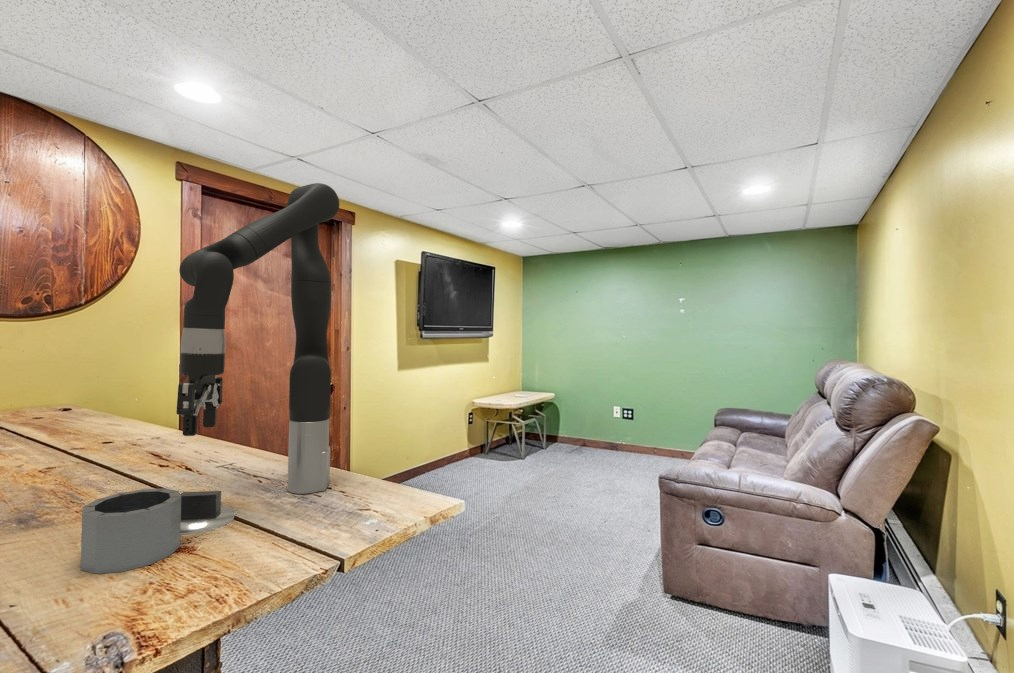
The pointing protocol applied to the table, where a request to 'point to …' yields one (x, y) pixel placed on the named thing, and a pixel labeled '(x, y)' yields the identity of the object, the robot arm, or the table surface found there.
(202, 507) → the lid
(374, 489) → the table surface
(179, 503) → the pot
